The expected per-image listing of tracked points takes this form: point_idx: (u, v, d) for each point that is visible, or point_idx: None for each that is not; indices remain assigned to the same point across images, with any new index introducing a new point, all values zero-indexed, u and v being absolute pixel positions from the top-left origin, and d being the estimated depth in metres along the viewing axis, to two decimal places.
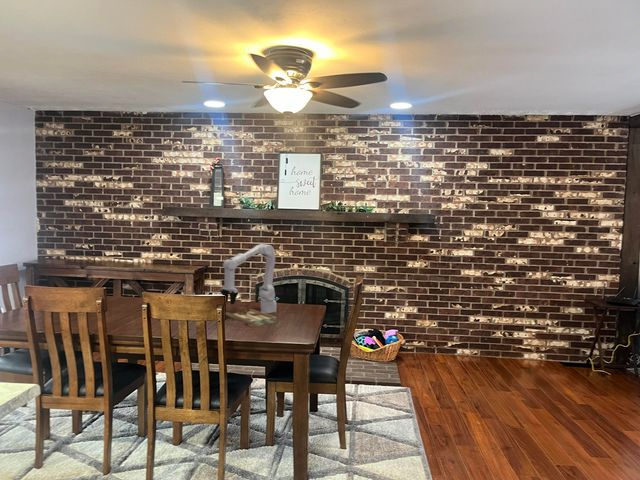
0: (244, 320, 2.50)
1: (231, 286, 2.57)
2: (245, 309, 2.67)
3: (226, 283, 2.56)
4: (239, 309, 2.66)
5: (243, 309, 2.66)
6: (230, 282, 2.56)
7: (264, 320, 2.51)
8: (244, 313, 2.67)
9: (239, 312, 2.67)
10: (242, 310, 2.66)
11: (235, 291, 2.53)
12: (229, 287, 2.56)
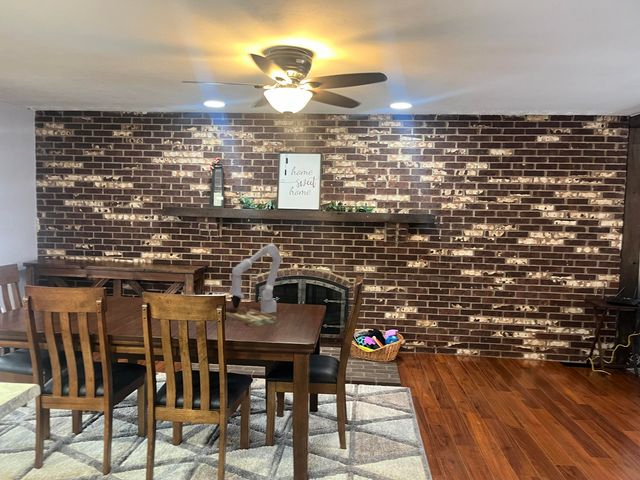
0: (244, 320, 2.50)
1: (238, 292, 2.70)
2: (245, 309, 2.67)
3: (233, 289, 2.70)
4: (239, 309, 2.66)
5: (243, 309, 2.66)
6: (237, 288, 2.70)
7: (264, 320, 2.51)
8: (244, 313, 2.67)
9: (239, 312, 2.67)
10: (242, 310, 2.66)
11: (242, 297, 2.67)
12: (236, 293, 2.70)
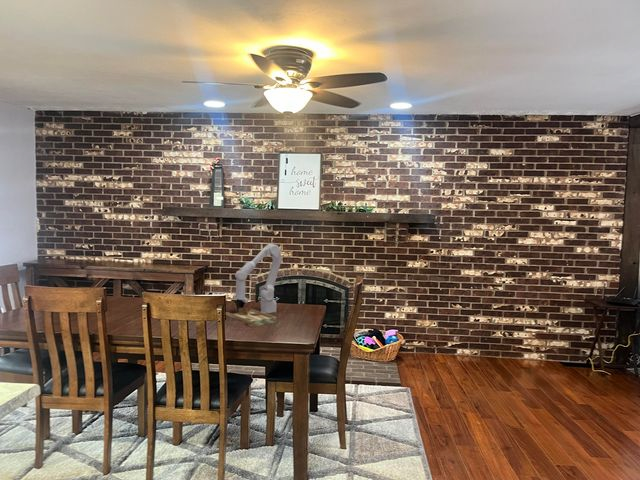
0: (244, 320, 2.50)
1: (242, 296, 2.67)
2: (246, 309, 2.66)
3: (237, 293, 2.67)
4: (240, 309, 2.66)
5: (244, 309, 2.65)
6: (241, 292, 2.66)
7: (264, 320, 2.51)
8: (245, 314, 2.66)
9: (240, 312, 2.66)
10: (243, 310, 2.65)
11: (246, 301, 2.64)
12: (240, 297, 2.66)
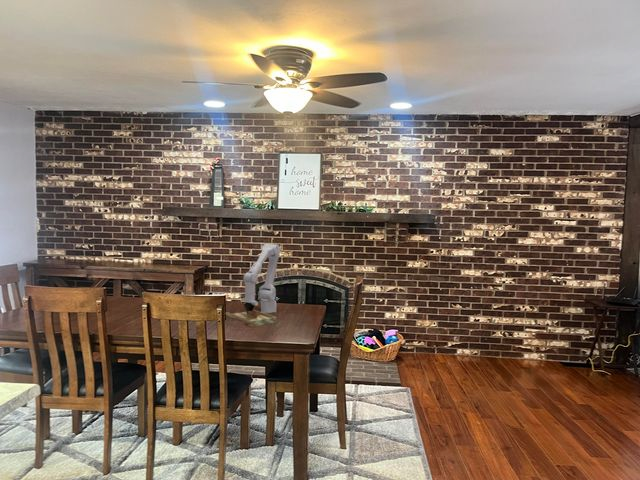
0: (244, 320, 2.50)
1: (252, 299, 2.59)
2: (256, 313, 2.59)
3: (247, 296, 2.59)
4: (249, 313, 2.58)
5: (253, 313, 2.58)
6: (251, 295, 2.59)
7: (264, 320, 2.51)
8: (255, 317, 2.59)
9: (249, 316, 2.58)
10: (252, 314, 2.57)
11: (256, 304, 2.56)
12: (250, 300, 2.59)
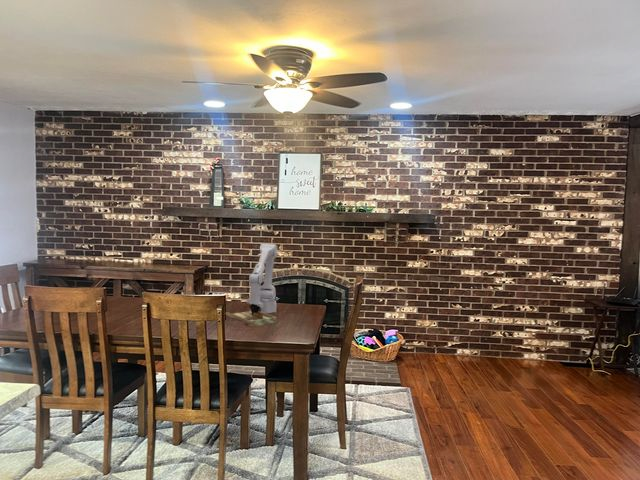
0: (244, 320, 2.50)
1: (257, 300, 2.55)
2: (261, 315, 2.55)
3: (252, 297, 2.55)
4: (255, 315, 2.54)
5: (259, 315, 2.53)
6: (256, 296, 2.55)
7: (264, 320, 2.51)
8: None
9: (255, 318, 2.54)
10: (258, 316, 2.53)
11: (261, 306, 2.52)
12: (255, 301, 2.55)
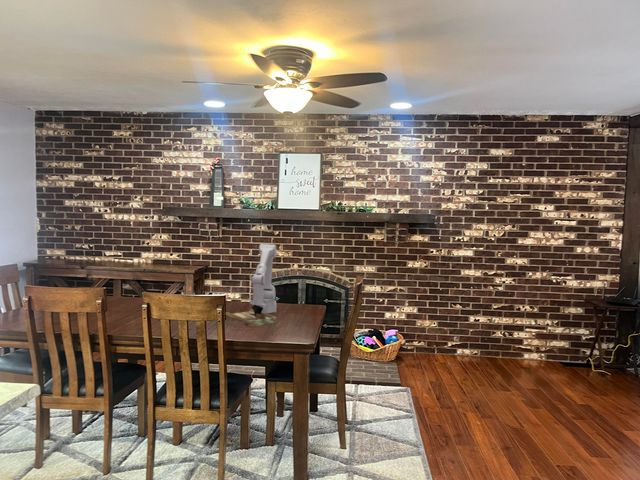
0: (244, 320, 2.50)
1: (260, 301, 2.53)
2: (264, 316, 2.52)
3: (255, 298, 2.53)
4: (258, 316, 2.52)
5: (262, 316, 2.51)
6: (259, 297, 2.53)
7: (264, 320, 2.51)
8: None
9: (258, 319, 2.52)
10: (261, 317, 2.51)
11: (264, 307, 2.50)
12: (258, 302, 2.53)
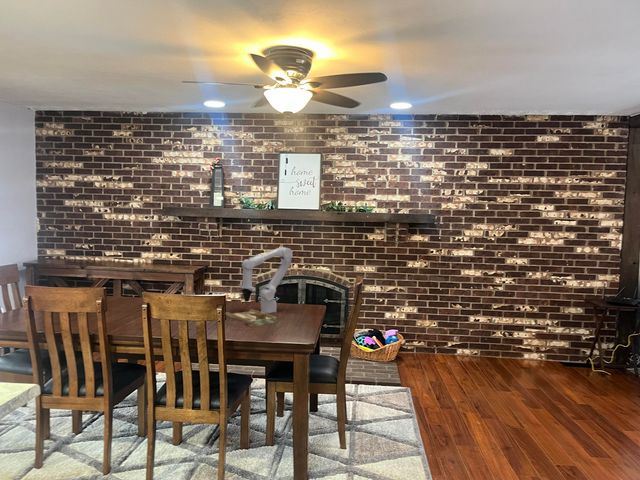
0: (244, 320, 2.50)
1: (249, 285, 2.67)
2: (264, 316, 2.52)
3: (244, 282, 2.67)
4: (258, 316, 2.52)
5: (262, 316, 2.51)
6: (248, 281, 2.67)
7: (264, 320, 2.51)
8: None
9: (258, 319, 2.52)
10: (261, 317, 2.51)
11: (253, 290, 2.64)
12: (247, 286, 2.67)
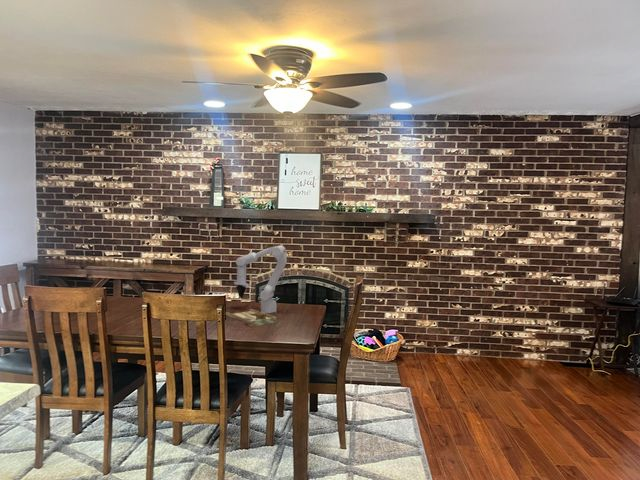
0: (244, 320, 2.50)
1: (243, 281, 2.77)
2: (264, 316, 2.52)
3: (238, 279, 2.77)
4: (258, 316, 2.52)
5: (262, 316, 2.51)
6: (242, 278, 2.76)
7: (264, 320, 2.51)
8: None
9: (258, 319, 2.52)
10: (261, 317, 2.51)
11: (247, 286, 2.74)
12: (241, 282, 2.76)
